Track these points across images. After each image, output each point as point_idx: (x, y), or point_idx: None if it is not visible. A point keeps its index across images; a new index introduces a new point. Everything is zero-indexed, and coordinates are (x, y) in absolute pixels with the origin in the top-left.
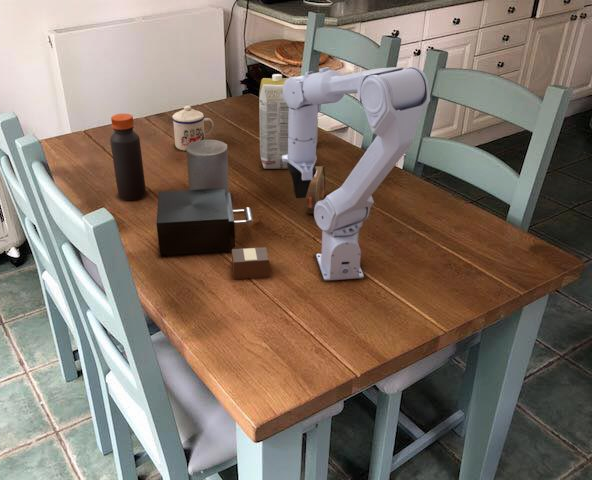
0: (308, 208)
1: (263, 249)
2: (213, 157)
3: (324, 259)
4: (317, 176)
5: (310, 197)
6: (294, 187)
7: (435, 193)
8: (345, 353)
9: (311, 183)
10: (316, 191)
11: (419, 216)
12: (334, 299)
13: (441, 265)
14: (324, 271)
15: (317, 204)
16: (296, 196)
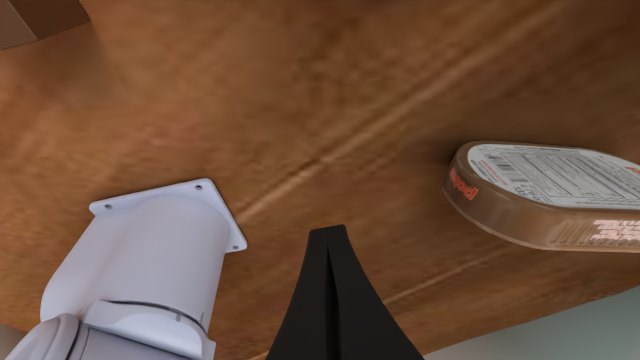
0: (453, 162)
1: (3, 28)
2: None
3: (130, 221)
4: (587, 243)
5: (471, 196)
6: (296, 291)
7: (492, 328)
8: None
9: (538, 225)
10: (483, 229)
11: (411, 316)
12: (25, 222)
13: (246, 336)
14: (123, 204)
15: None
16: (309, 240)
